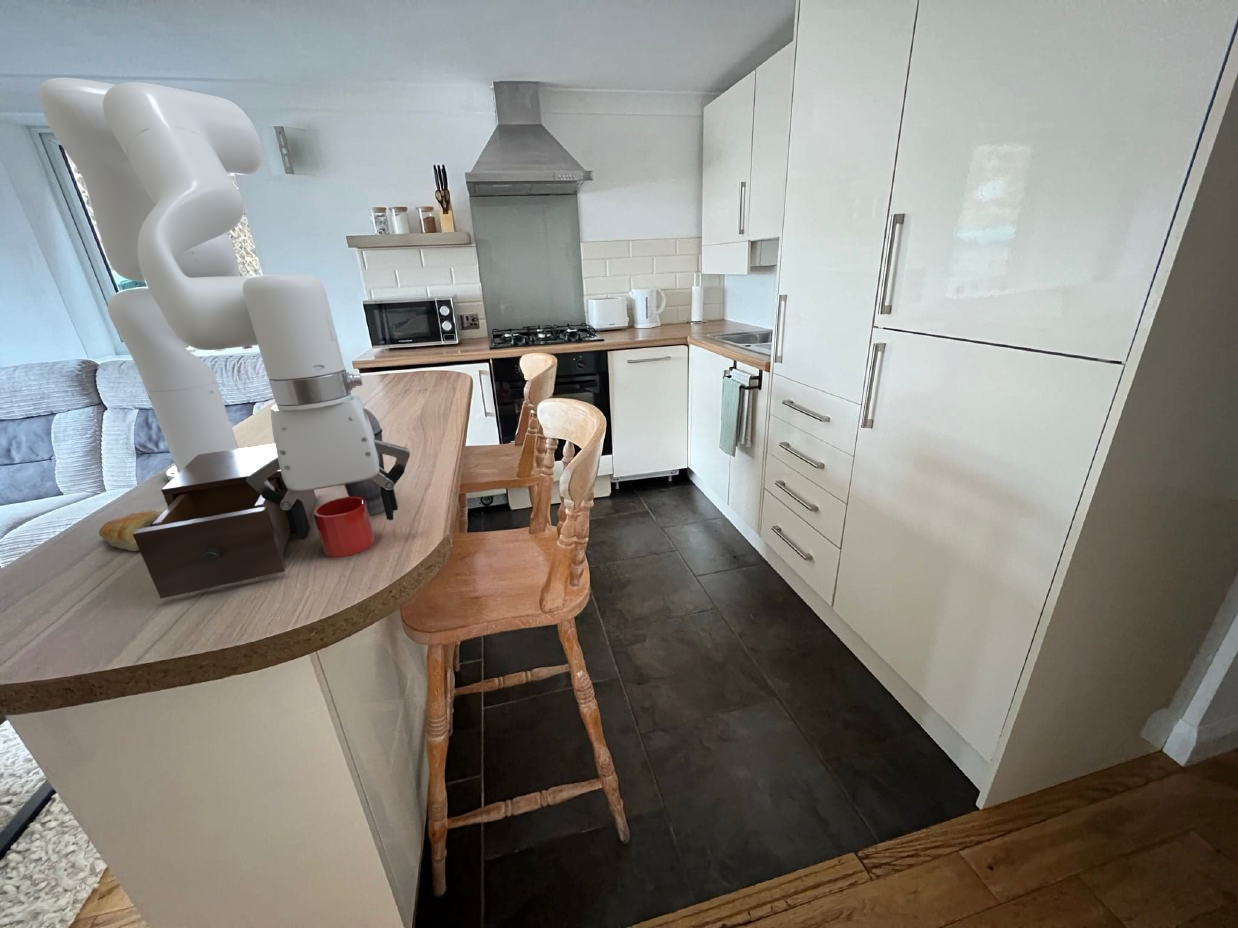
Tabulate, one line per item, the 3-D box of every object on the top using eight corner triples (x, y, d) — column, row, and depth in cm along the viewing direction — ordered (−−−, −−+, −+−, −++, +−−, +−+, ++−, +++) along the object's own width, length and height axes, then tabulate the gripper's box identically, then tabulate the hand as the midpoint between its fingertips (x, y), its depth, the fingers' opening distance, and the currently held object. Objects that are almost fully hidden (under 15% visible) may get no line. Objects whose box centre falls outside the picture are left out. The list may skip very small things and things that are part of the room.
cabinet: (304, 537, 67) (284, 470, 64) (188, 560, 63) (160, 489, 59) (316, 498, 79) (300, 440, 75) (219, 515, 74) (197, 454, 71)
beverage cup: (377, 521, 71) (344, 379, 63) (332, 518, 72) (295, 379, 65) (408, 499, 77) (381, 368, 70) (366, 496, 79) (335, 368, 71)
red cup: (326, 539, 66) (316, 502, 64) (375, 530, 68) (366, 493, 66) (322, 561, 61) (310, 521, 59) (374, 550, 63) (364, 510, 61)
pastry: (85, 547, 66) (73, 522, 65) (140, 524, 73) (130, 500, 71) (141, 553, 65) (129, 527, 63) (192, 528, 71) (183, 504, 69)
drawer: (282, 576, 57) (262, 514, 54) (156, 605, 53) (127, 539, 50) (300, 525, 68) (284, 472, 66) (197, 545, 64) (176, 489, 61)
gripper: (393, 375, 64) (420, 499, 70) (230, 395, 57) (274, 529, 63) (394, 385, 57) (423, 520, 63) (210, 408, 51) (262, 556, 57)
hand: (349, 524), depth 63 cm, fingers open, 9 cm apart
